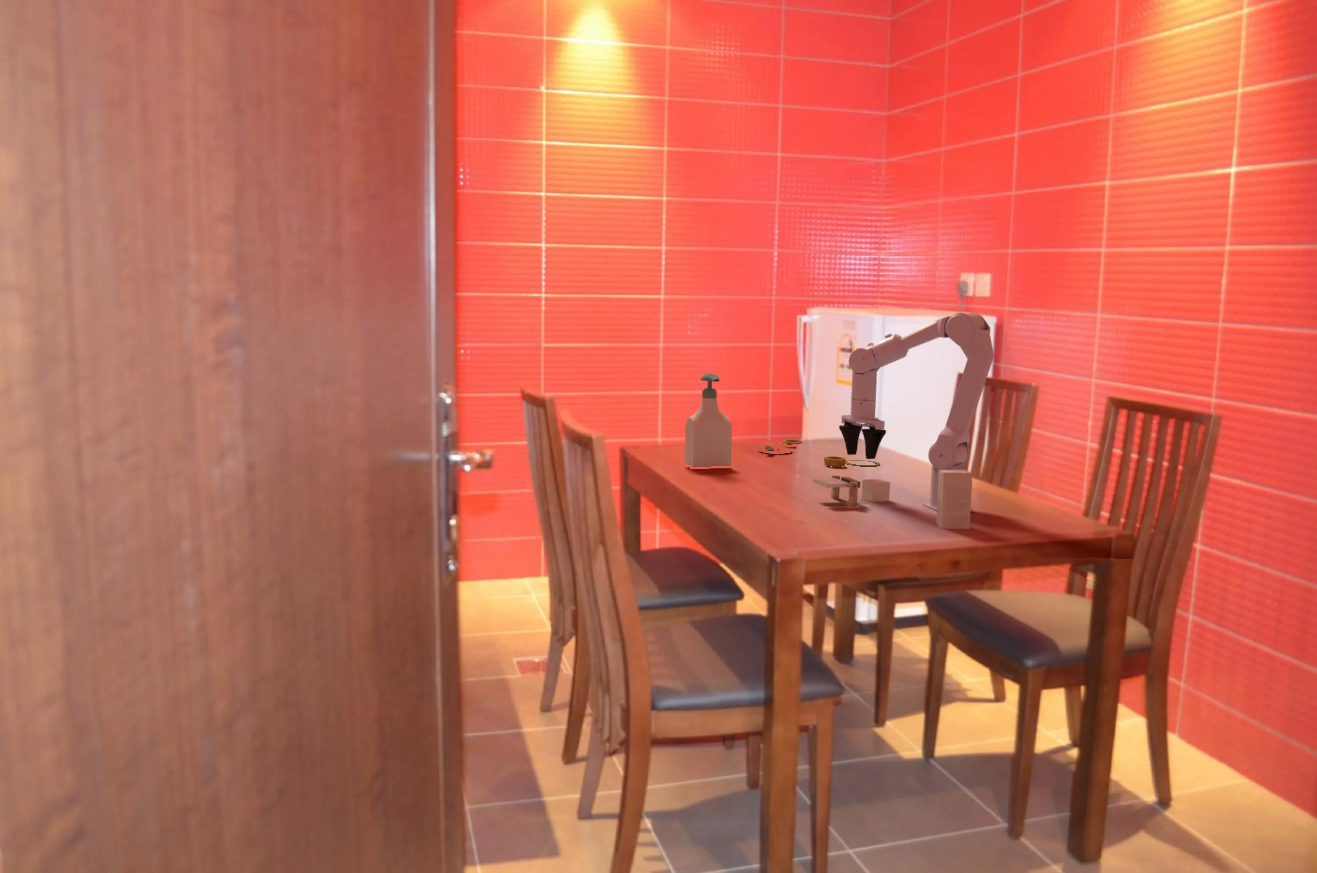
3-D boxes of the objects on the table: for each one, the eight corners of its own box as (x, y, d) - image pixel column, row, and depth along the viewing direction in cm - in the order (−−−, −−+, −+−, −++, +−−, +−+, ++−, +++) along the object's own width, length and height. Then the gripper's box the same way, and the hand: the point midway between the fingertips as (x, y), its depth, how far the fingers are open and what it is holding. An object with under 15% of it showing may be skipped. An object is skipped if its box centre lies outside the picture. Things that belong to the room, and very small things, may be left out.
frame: (851, 501, 249) (852, 474, 248) (872, 510, 238) (873, 482, 238) (807, 502, 246) (808, 475, 246) (826, 511, 236) (828, 483, 235)
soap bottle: (695, 478, 279) (697, 374, 275) (684, 473, 286) (686, 372, 283) (733, 476, 282) (736, 374, 279) (721, 472, 290) (724, 372, 287)
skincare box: (963, 525, 223) (966, 469, 222) (970, 529, 219) (973, 472, 217) (934, 525, 223) (937, 469, 221) (940, 529, 218) (944, 472, 217)
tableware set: (739, 458, 321) (740, 438, 321) (821, 456, 330) (822, 436, 330) (800, 480, 283) (801, 456, 282) (891, 476, 292) (892, 454, 291)
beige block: (889, 505, 245) (890, 482, 245) (871, 506, 244) (872, 482, 243) (878, 501, 250) (879, 478, 249) (861, 502, 248) (862, 479, 247)
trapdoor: (846, 482, 246) (846, 476, 246) (861, 488, 239) (861, 482, 239) (812, 483, 244) (813, 477, 244) (826, 489, 237) (826, 482, 236)
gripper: (896, 401, 244) (893, 460, 245) (859, 396, 257) (857, 452, 258) (871, 402, 241) (868, 461, 242) (835, 397, 254) (832, 453, 255)
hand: (861, 456), depth 250 cm, fingers open, 7 cm apart
